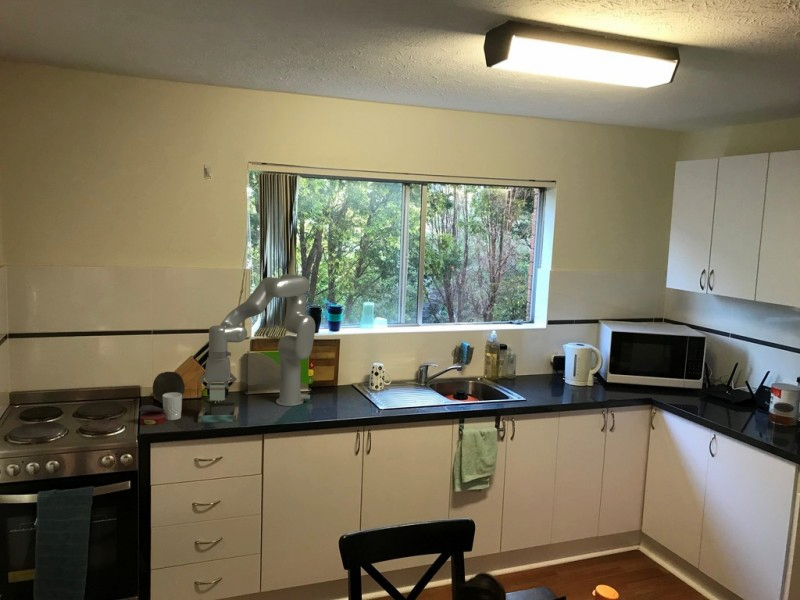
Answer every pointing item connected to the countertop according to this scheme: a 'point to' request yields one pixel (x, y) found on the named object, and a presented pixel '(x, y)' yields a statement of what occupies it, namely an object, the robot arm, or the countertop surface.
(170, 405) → the white cup
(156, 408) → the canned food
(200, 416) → the bay
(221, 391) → the crate
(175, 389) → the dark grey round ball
